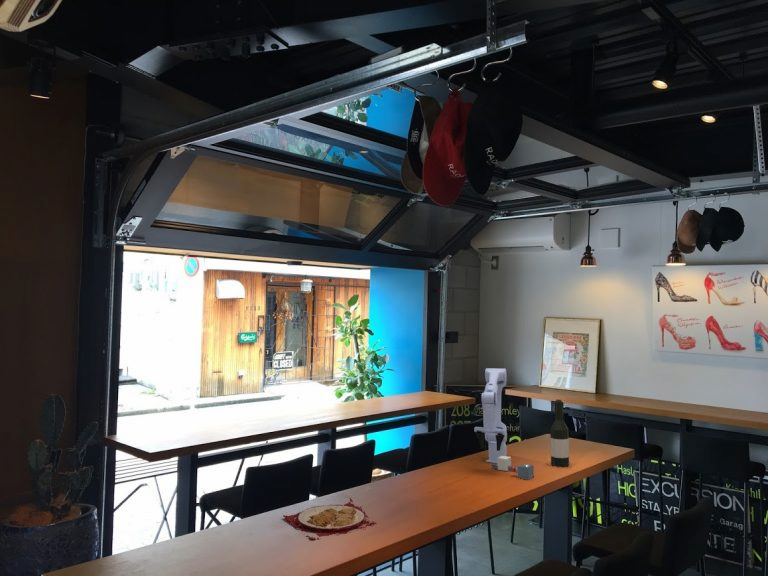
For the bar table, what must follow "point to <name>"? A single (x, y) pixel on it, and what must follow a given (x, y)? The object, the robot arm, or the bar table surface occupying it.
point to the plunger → (514, 469)
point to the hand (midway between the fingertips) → (490, 449)
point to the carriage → (504, 463)
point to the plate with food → (329, 519)
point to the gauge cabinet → (525, 471)
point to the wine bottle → (559, 438)
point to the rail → (497, 467)
